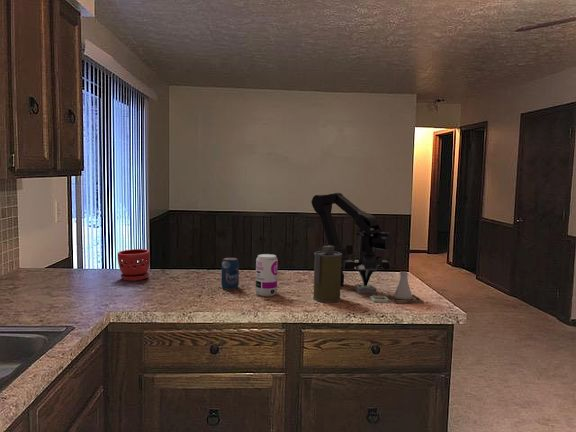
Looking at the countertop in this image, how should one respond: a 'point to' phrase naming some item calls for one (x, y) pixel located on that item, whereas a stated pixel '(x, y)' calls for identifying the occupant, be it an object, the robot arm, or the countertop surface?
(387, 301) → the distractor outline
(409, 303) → the outline
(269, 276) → the supplement can
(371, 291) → the button housing
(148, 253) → the plant pot
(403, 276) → the flask
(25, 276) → the countertop surface
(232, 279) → the soda can
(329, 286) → the canister
